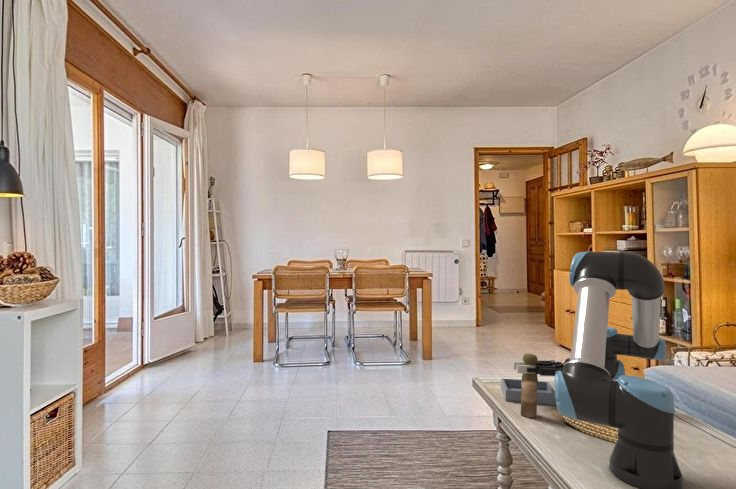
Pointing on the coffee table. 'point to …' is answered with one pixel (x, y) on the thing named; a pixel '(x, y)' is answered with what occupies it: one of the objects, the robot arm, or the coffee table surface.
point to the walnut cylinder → (528, 399)
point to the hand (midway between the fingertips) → (515, 367)
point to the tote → (513, 391)
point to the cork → (531, 360)
